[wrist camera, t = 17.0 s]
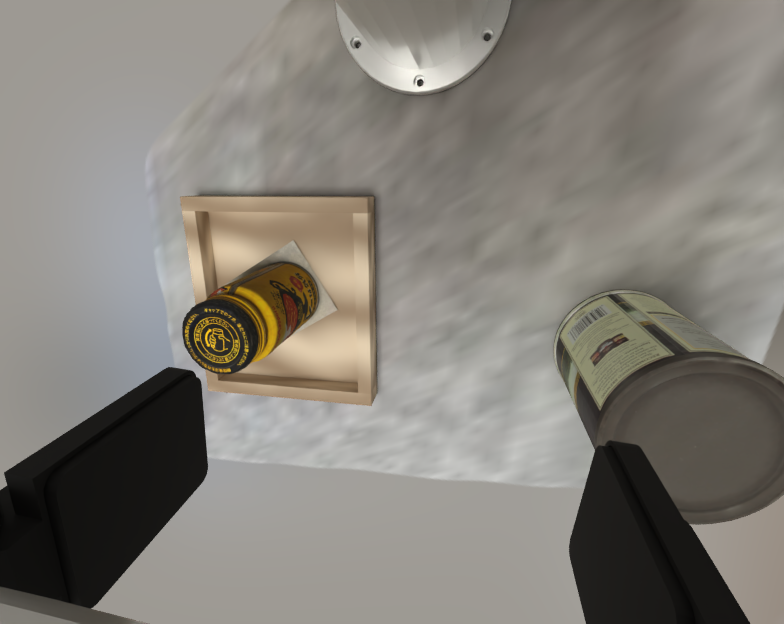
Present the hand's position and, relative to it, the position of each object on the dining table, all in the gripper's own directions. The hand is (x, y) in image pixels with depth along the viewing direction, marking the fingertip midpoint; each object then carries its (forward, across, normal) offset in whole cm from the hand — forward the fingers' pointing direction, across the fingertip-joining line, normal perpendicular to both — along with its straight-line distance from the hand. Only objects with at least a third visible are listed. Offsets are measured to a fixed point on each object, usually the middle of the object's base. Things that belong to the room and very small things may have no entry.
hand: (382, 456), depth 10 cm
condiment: (+27, +15, +6) cm, 32 cm away
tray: (+28, +14, +6) cm, 32 cm away
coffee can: (+28, -15, +7) cm, 32 cm away
